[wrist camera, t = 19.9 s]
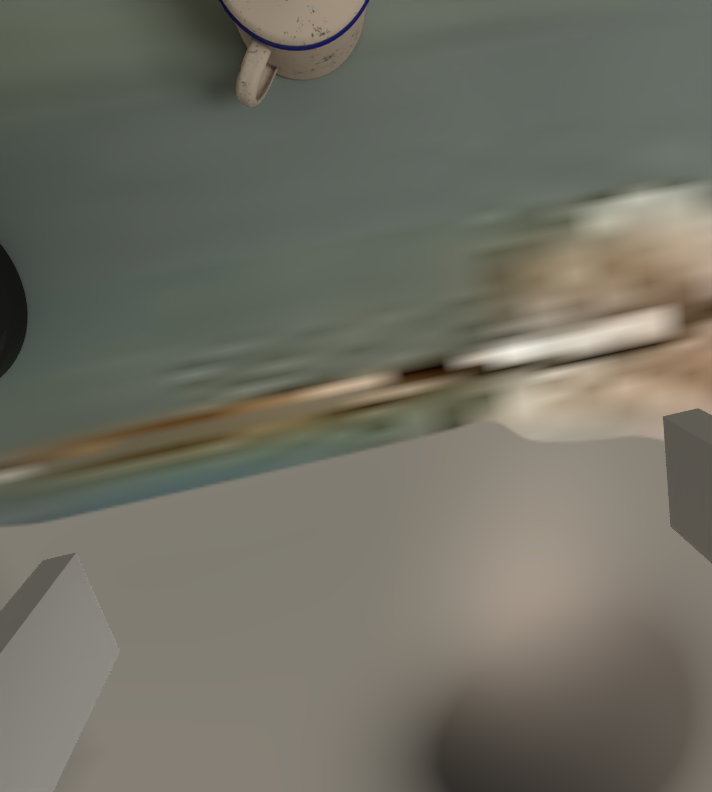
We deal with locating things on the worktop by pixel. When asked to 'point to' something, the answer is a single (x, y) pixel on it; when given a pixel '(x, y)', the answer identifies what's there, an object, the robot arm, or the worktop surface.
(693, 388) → the worktop surface
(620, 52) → the worktop surface
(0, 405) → the worktop surface
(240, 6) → the teacup with lid
